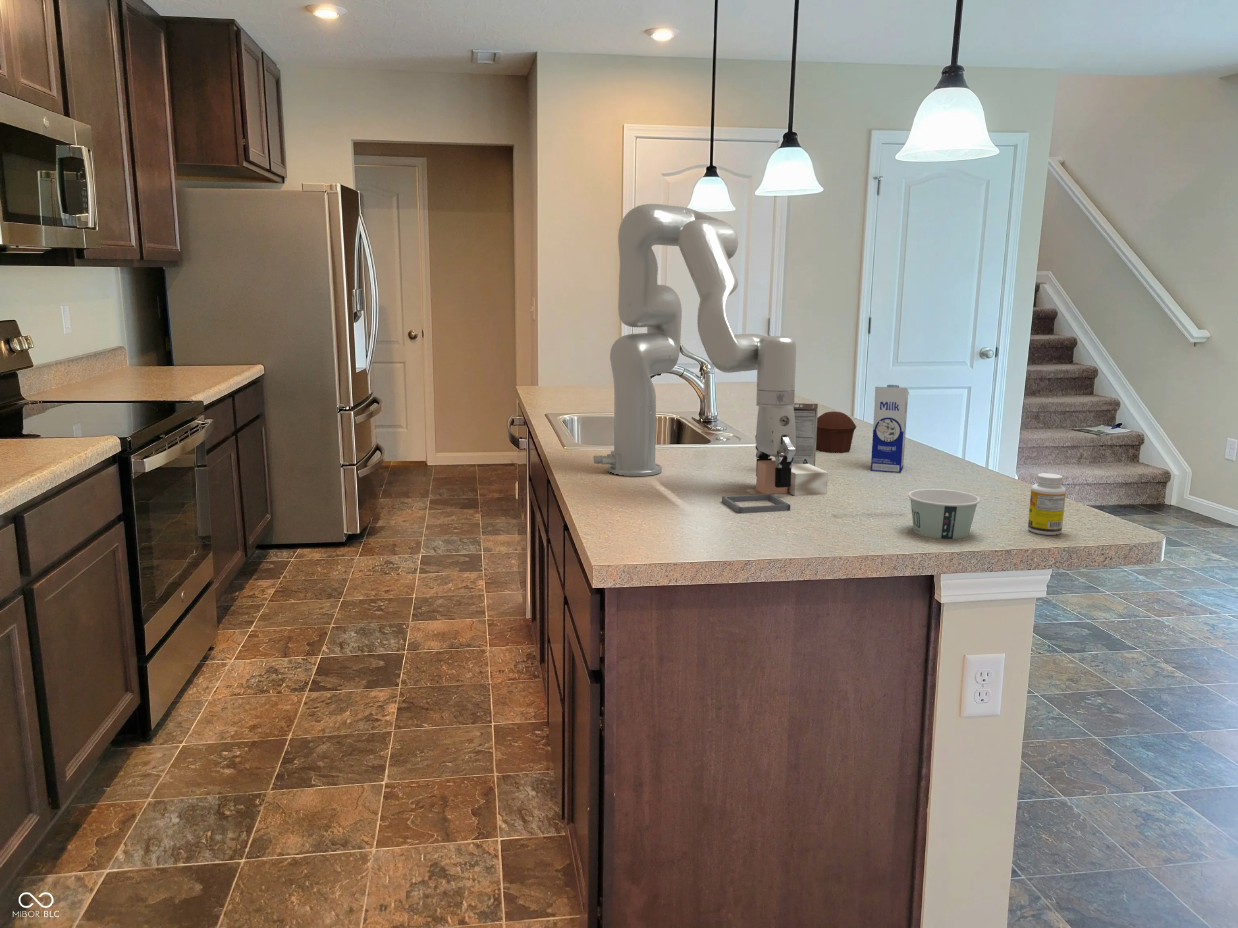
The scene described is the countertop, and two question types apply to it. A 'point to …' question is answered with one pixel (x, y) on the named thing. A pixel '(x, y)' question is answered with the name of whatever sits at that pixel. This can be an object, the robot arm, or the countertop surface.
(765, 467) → the block
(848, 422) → the muffin
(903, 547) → the countertop surface
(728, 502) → the tray
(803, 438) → the coffee box
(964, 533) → the food container
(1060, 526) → the supplement bottle
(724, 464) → the countertop surface
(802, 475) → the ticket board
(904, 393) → the milk carton
